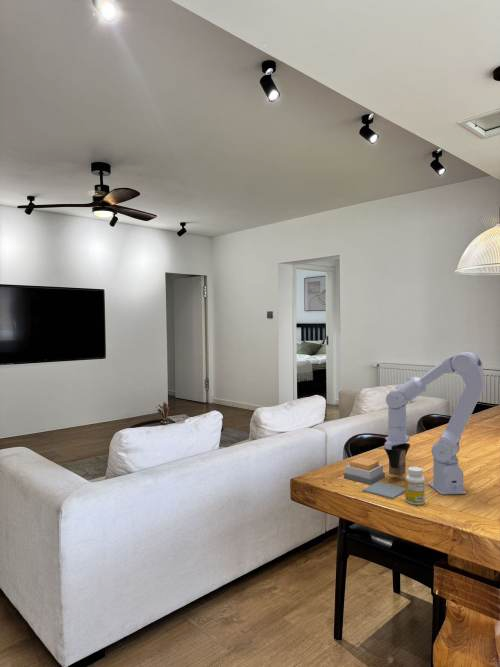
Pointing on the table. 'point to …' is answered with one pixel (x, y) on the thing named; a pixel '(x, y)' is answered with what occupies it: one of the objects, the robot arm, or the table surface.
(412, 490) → the supplement bottle
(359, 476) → the switch panel
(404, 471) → the brown wooden beam
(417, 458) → the table surface
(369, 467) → the button
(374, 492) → the rubber mat
